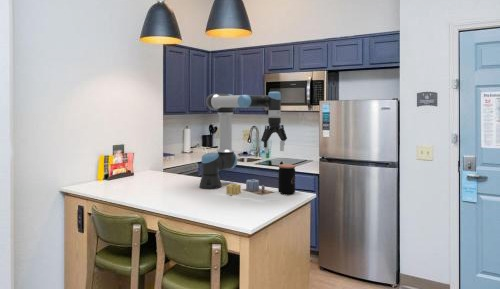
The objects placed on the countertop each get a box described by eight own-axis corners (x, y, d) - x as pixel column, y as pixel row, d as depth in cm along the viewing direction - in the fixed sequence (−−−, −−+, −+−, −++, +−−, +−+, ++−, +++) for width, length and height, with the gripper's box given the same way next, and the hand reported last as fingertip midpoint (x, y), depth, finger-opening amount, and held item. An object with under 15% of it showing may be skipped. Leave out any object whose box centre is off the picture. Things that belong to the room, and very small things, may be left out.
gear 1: (224, 194, 233) (224, 184, 232) (234, 192, 238) (234, 183, 238) (232, 196, 226) (232, 187, 226) (243, 194, 232) (243, 185, 231)
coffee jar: (294, 195, 230) (294, 167, 228) (277, 194, 232) (277, 166, 230) (295, 191, 240) (295, 164, 238) (279, 190, 242) (279, 164, 241)
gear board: (240, 191, 241) (240, 183, 240) (254, 188, 249) (254, 180, 248) (261, 196, 226) (261, 188, 226) (275, 193, 234) (275, 185, 234)
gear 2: (243, 190, 240) (243, 181, 239) (250, 187, 247) (250, 178, 246) (254, 191, 235) (254, 182, 235) (261, 189, 242) (261, 180, 242)
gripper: (264, 117, 211) (263, 154, 213) (292, 117, 227) (292, 150, 229) (255, 117, 216) (255, 153, 219) (284, 116, 233) (283, 149, 235)
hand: (274, 151), depth 224 cm, fingers open, 13 cm apart
